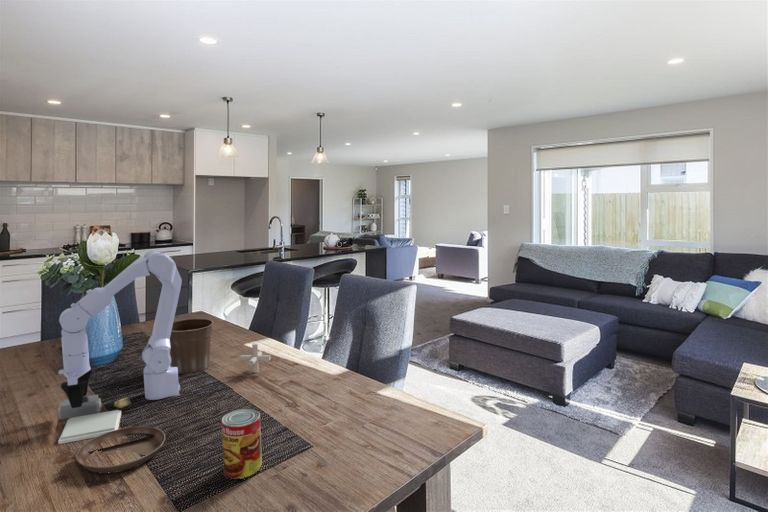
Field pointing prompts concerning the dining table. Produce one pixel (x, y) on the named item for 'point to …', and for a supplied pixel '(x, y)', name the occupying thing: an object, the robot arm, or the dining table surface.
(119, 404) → the yellow rounded lump
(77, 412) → the block
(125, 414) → the dining table surface
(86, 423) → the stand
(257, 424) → the canned food
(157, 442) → the plant saucer
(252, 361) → the pipe connector
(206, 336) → the plant pot
